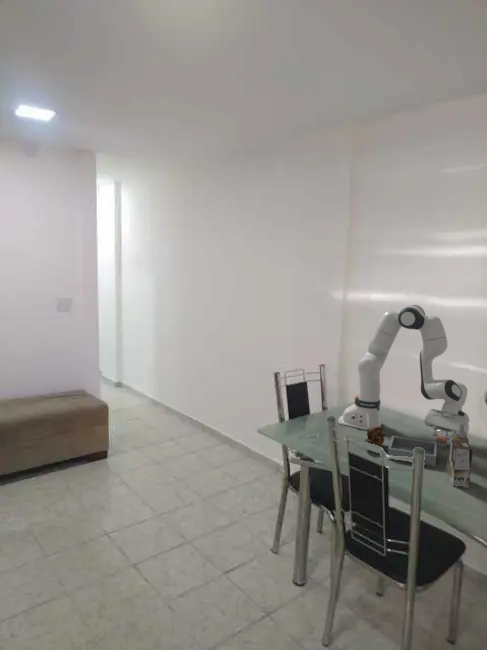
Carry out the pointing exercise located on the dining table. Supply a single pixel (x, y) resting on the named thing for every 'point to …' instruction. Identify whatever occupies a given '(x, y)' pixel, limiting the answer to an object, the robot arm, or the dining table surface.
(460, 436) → the squeeze bottle
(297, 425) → the dining table surface
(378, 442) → the wooden carving
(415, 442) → the box
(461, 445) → the coffee box
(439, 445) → the grey capped jar
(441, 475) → the dining table surface
